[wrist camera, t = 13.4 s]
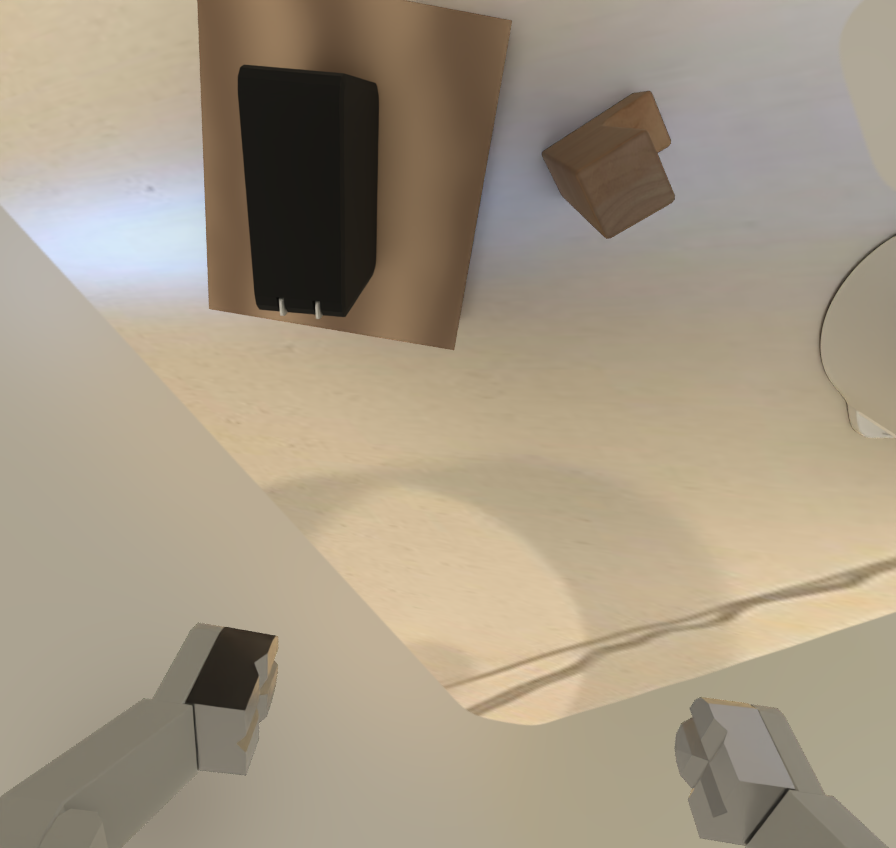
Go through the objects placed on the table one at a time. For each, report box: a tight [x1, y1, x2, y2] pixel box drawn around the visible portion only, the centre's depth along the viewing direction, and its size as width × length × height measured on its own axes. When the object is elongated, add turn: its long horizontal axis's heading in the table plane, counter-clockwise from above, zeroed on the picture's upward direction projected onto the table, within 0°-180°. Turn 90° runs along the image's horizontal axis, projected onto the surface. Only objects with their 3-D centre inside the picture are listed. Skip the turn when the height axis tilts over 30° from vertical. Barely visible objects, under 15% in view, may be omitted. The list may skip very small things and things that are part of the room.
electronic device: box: [238, 65, 379, 319], centre depth 29 cm, size 4×10×10 cm, turn 176°
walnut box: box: [197, 0, 512, 350], centre depth 36 cm, size 16×18×6 cm
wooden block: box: [542, 91, 675, 239], centre depth 31 cm, size 7×3×15 cm, turn 122°
